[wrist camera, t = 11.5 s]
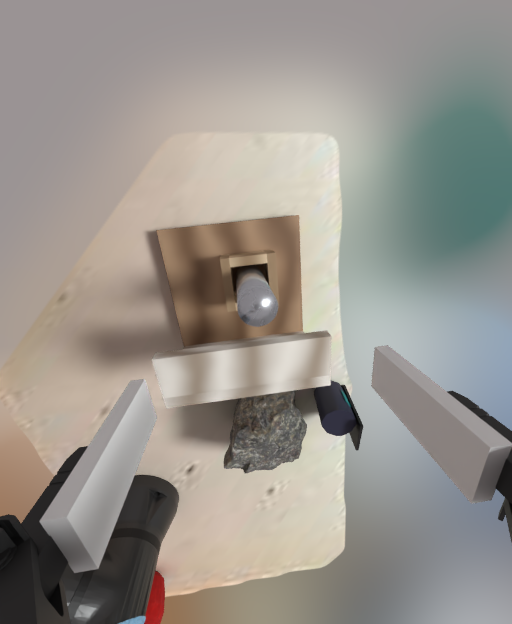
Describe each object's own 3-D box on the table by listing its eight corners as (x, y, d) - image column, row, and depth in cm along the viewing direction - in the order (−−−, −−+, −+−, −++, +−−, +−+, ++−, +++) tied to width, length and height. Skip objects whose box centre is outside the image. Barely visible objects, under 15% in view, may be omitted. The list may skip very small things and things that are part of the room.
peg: (234, 265, 36) (234, 290, 22) (260, 262, 36) (276, 285, 23) (237, 291, 37) (240, 329, 24) (263, 288, 37) (279, 324, 24)
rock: (214, 375, 41) (195, 449, 43) (265, 425, 31) (237, 515, 34) (284, 365, 53) (266, 423, 56) (335, 399, 44) (311, 466, 47)
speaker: (354, 385, 48) (378, 427, 38) (341, 406, 50) (360, 451, 40) (320, 373, 47) (335, 413, 37) (307, 395, 49) (318, 439, 39)
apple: (170, 562, 64) (158, 626, 53) (170, 582, 67) (159, 646, 57) (131, 564, 62) (111, 630, 52) (133, 584, 66) (115, 650, 55)
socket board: (188, 349, 42) (166, 410, 28) (160, 229, 35) (114, 234, 21) (300, 334, 43) (330, 386, 29) (295, 215, 36) (333, 211, 22)
